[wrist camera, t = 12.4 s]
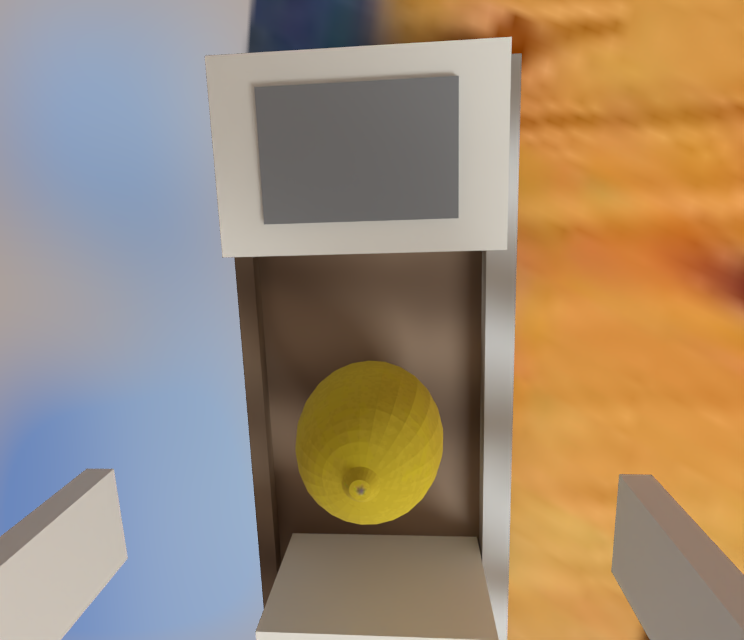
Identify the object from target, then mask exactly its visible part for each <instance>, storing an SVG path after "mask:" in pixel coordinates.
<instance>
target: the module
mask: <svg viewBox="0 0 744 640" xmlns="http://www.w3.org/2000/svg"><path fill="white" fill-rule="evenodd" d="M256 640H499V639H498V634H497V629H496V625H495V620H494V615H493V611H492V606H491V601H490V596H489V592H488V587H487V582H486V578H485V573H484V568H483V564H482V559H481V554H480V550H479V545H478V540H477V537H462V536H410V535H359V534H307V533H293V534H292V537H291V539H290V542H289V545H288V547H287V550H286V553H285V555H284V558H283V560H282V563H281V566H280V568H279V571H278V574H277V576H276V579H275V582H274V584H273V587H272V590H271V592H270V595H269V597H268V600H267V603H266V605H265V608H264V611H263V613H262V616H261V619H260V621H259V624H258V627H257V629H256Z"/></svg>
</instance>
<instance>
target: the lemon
mask: <svg viewBox="0 0 744 640" xmlns="http://www.w3.org/2000/svg"><path fill="white" fill-rule="evenodd" d="M295 451H296V457H297V463H298V469H299V473H300V476H301V478H302V480H303V482H304V485H305V487H306V489H307V491H308V492H309V494H310V495H311V496H312V497H313V499H314V500H315V501H316V502H317V504H319V505H320V506H321V507H322V508H324V509H325V510H326V511H327V512H329V513H330V514H331V515H333V516H335V517H337V518H340V519H342V520H344V521H346V522H351V523H356V524H360V525H366V524H379V523H383V522H388V521H391V520H394V519H396V518H398V517H400V516H402V515H404V514H406V513H408V512H409V511H410V510H411V509H412V508H413V507H414V506H415V505H416V504H418V503H419V502H420V501H421V500H422V499H423V497H424V496H425V494H426V493H427V491H428V490H429V488H430V486H431V485H432V483H433V482H434V480H435V477H436V474H437V471H438V468H439V465H440V462H441V458H442V453H443V427H442V423H441V419H440V415H439V410H438V407H437V405H436V403H435V402H434V400H433V398H432V396H431V394H430V392H429V391H428V389H427V388H426V387H425V386H424V385H423V384H422V383H421V382H420V381H419V380H418V379H417V378H416V377H415V376H414V375H412V374H411V373H409V372H408V371H406V370H404V369H403V368H401V367H399V366H396V365H393V364H390V363H387V362H382V361H363V362H357V363H351V364H349V365H347V366H344V367H342V368H340V369H338V370H336V371H334V372H333V373H331V374H330V375H329V376H328V377H326V378H325V379H324V380H323V381H321V382H320V383H319V384H318V386H317V387H316V388H315V390H314V391H313V393H312V394H311V395H310V397H309V398H308V399H307V401H306V403H305V406H304V408H303V411H302V413H301V416H300V418H299V421H298V425H297V435H296V445H295Z"/></svg>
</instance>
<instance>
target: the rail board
mask: <svg viewBox="0 0 744 640" xmlns="http://www.w3.org/2000/svg"><path fill="white" fill-rule="evenodd" d="M521 60H522V54H511V91H510V138H509V185H508V232H507V250H484V251H447V252H410V253H372V254H335V255H298V256H261V257H235V269H236V281H237V293H238V305H239V317H240V329H241V340H242V352H243V365H244V375H245V389H246V401H247V413H248V424H249V436H250V448H251V459H252V460H251V461H252V473H253V484H254V496H255V507H256V520H257V531H258V544H259V556H260V567H261V580H262V592H263V603H264V608H265V605H266V603H267V600H268V597H269V595H270V592H271V590H272V587H273V584H274V582H275V579H276V576H277V574H278V571H279V568H280V566H281V563H282V560H283V558H284V555H285V553H286V550H287V547H288V545H289V542H290V539H291V537H292V534H293V533H307V534H359V535H410V536H462V537H477V540H478V545H479V550H480V554H481V559H482V564H483V568H484V573H485V578H486V582H487V587H488V592H489V596H490V601H491V606H492V611H493V615H494V620H495V625H496V629H497V634H498V639H499V640H507V623H508V583H509V543H510V503H511V462H512V422H513V382H514V341H515V301H516V261H517V221H518V180H519V140H520V100H521ZM363 361H382V362H387V363H390V364H393V365H396V366H399V367H401V368H403V369H404V370H406V371H408V372H409V373H411V374H412V375H414V376H415V377H416V378H417V379H418V380H419V381H420V382H421V383H422V384H423V385H424V386H425V387H426V388H427V389H428V391H429V392H430V394H431V396H432V398H433V400H434V402H435V403H436V405H437V407H438V410H439V415H440V419H441V423H442V427H443V453H442V458H441V462H440V465H439V468H438V471H437V474H436V477H435V480H434V482H433V483H432V485H431V486H430V488H429V490H428V491H427V493H426V494H425V496H424V497H423V499H422V500H421V501H420V502H419V503H418V504H416V505H415V506H414V507H413V508H412V509H411V510H410V511H409V512H408V513H406V514H404V515H402V516H400V517H398V518H396V519H394V520H391V521H388V522H383V523H379V524H366V525H360V524H356V523H351V522H346V521H344V520H342V519H340V518H337V517H335V516H333V515H331V514H330V513H329V512H327V511H326V510H325V509H324V508H322V507H321V506H320V505H319V504H317V502H316V501H315V500H314V499H313V497H312V496H311V495H310V494H309V492H308V491H307V489H306V487H305V485H304V482H303V480H302V478H301V476H300V473H299V469H298V463H297V457H296V451H295V445H296V435H297V425H298V421H299V418H300V416H301V413H302V411H303V408H304V406H305V403H306V401H307V399H308V398H309V397H310V395H311V394H312V393H313V391H314V390H315V388H316V387H317V386H318V384H319V383H320V382H321V381H323V380H324V379H325V378H326V377H328V376H329V375H330V374H331V373H333V372H334V371H336V370H338V369H340V368H342V367H344V366H347V365H349V364H351V363H357V362H363Z"/></svg>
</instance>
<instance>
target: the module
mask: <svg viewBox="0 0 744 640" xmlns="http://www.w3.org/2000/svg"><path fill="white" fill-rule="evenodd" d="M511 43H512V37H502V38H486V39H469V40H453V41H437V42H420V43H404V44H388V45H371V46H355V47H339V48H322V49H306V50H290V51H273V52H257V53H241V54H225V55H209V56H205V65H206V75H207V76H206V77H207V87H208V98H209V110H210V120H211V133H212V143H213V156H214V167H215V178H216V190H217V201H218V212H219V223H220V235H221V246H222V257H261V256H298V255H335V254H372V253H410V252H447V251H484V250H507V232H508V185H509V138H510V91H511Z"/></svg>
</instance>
